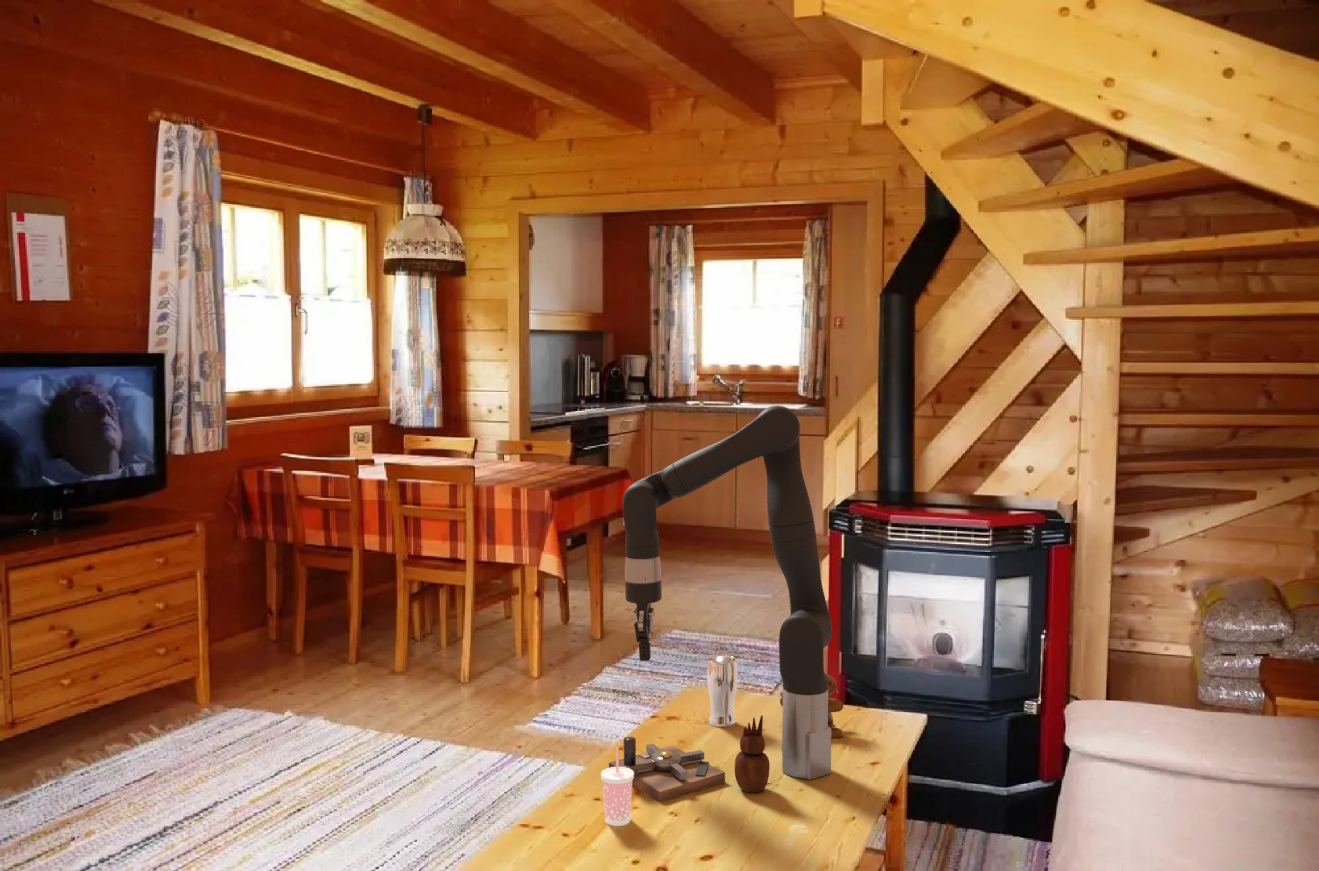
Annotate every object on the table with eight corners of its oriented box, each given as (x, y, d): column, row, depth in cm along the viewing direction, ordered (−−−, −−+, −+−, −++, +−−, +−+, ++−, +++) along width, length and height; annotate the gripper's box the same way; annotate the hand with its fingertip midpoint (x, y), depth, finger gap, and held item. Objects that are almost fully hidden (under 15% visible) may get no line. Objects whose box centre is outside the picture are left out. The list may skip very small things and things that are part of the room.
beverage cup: (602, 813, 203) (601, 740, 202) (635, 813, 203) (634, 740, 202) (599, 827, 197) (599, 752, 196) (633, 827, 197) (632, 752, 196)
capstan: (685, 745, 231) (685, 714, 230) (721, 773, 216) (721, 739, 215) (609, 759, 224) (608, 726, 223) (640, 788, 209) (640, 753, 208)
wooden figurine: (773, 787, 215) (773, 713, 214) (763, 798, 210) (763, 722, 209) (741, 781, 218) (741, 708, 217) (730, 792, 213) (730, 717, 211)
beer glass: (738, 728, 248) (738, 663, 247) (707, 728, 248) (707, 663, 247) (736, 717, 255) (736, 655, 254) (706, 717, 255) (706, 655, 254)
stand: (726, 781, 218) (726, 770, 218) (659, 802, 208) (659, 790, 208) (673, 754, 232) (673, 743, 232) (608, 772, 223) (607, 761, 223)
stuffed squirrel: (846, 738, 241) (846, 680, 240) (782, 739, 241) (783, 681, 240) (838, 723, 251) (839, 667, 250) (777, 723, 251) (778, 667, 250)
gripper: (657, 584, 218) (659, 669, 219) (664, 571, 231) (666, 651, 233) (620, 584, 219) (622, 669, 220) (629, 571, 232) (631, 651, 233)
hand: (645, 659), depth 226 cm, fingers closed
